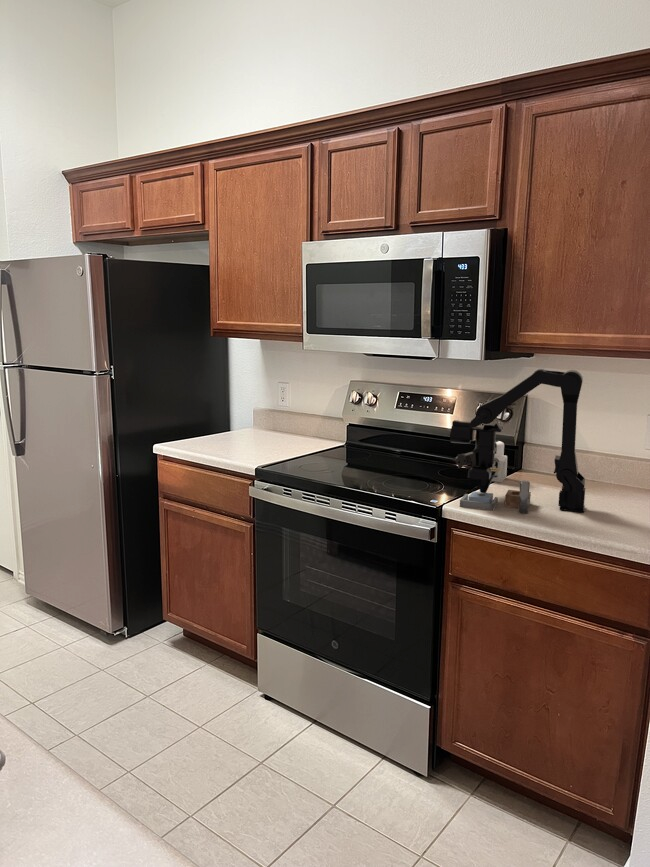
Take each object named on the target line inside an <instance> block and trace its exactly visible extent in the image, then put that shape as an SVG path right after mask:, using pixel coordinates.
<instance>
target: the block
mask: <svg viewBox="0 0 650 867" xmlns="http://www.w3.org/2000/svg"><path fill="white" fill-rule="evenodd" d="M493 499H494V493H491V492H490V493H489V492H486V493H484V492H480V491H472V492H471V493H470V495H468V501H476V502H485V503H491V502H492V501H493Z"/></svg>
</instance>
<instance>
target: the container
mask: <svg viewBox="0 0 650 867" xmlns="http://www.w3.org/2000/svg"><path fill="white" fill-rule="evenodd" d="M495 448H496V452H495V458H497V459H498V460H499V461H500V464H499V468H496V466H494V467H493V468H490V469H491V471H495V472H496V473H495V475H494V477H493V479H492V481H491V482H494V483H495V482H496V483H502V482H503V481H504V480H505V479H506V478H507V473H508V470H507V468H508V455H506V454H505V455H504V453H505V443H504V442H503V441H500V440H495Z"/></svg>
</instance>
